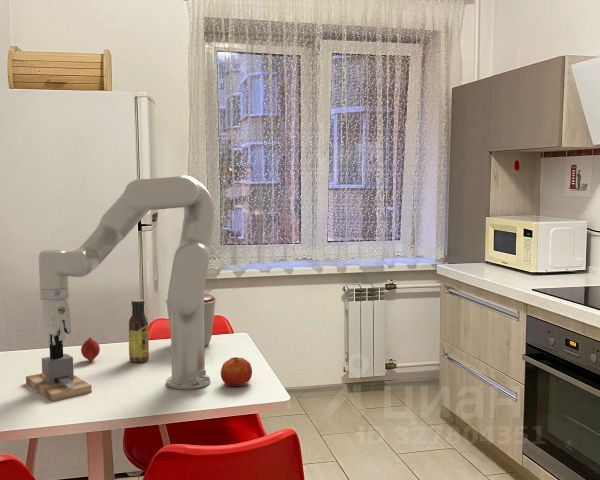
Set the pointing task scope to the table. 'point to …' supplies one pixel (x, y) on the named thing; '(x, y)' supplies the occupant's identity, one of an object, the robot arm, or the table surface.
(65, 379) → the rail
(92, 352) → the red oval fruit
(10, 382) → the table surface
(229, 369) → the tomato
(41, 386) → the mounting board
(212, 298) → the canister
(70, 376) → the block
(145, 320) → the sauce bottle
